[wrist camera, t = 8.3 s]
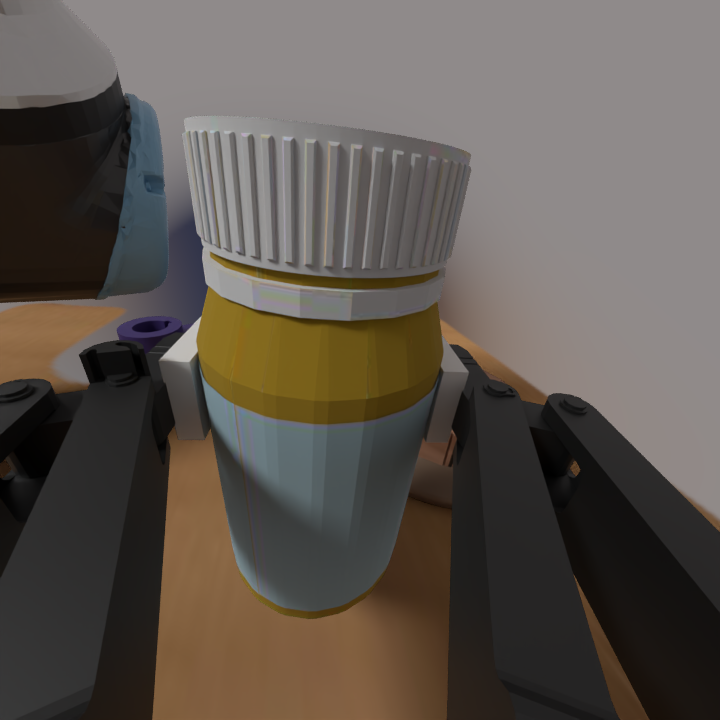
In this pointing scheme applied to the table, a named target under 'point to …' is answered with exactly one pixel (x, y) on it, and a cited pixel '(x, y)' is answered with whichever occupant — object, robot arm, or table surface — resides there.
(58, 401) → the robot arm
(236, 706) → the table surface
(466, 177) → the bottle
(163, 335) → the lever
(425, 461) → the bottle holder
